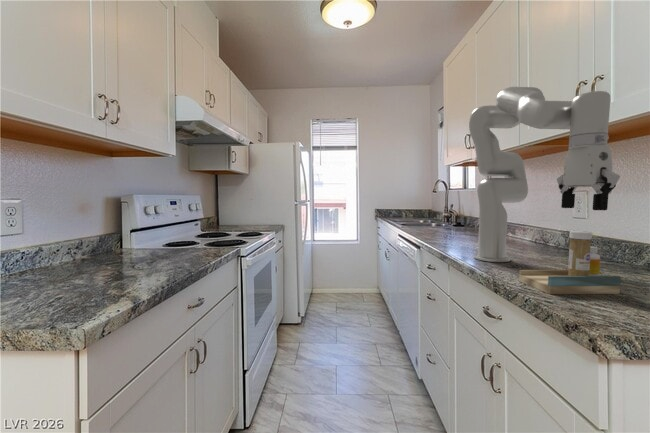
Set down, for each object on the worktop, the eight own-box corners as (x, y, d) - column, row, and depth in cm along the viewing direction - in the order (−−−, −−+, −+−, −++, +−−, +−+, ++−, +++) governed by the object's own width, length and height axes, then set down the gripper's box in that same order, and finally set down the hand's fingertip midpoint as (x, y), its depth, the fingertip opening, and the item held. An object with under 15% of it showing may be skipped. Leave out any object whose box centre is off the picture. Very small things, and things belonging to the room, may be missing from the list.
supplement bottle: (604, 281, 88) (606, 248, 88) (585, 281, 88) (587, 248, 88) (588, 276, 94) (590, 245, 93) (570, 276, 94) (572, 245, 93)
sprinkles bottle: (585, 284, 78) (588, 232, 77) (564, 280, 82) (566, 231, 81) (592, 281, 81) (595, 231, 80) (571, 278, 84) (573, 229, 83)
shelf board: (518, 280, 89) (519, 266, 88) (579, 280, 89) (580, 265, 89) (549, 294, 77) (550, 277, 76) (619, 293, 77) (620, 276, 77)
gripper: (636, 137, 70) (630, 211, 71) (573, 147, 87) (569, 207, 88) (604, 137, 70) (598, 211, 71) (548, 147, 87) (544, 207, 88)
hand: (582, 209), depth 80 cm, fingers open, 9 cm apart
